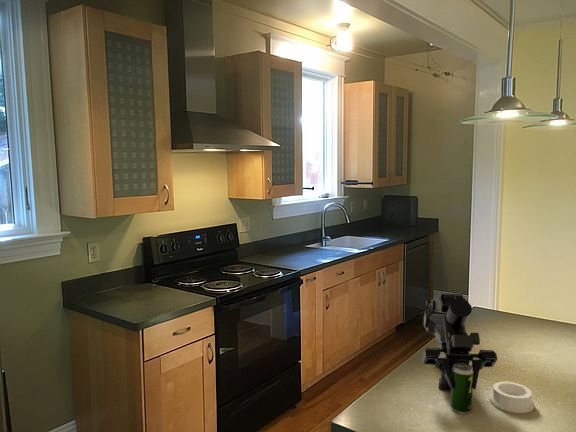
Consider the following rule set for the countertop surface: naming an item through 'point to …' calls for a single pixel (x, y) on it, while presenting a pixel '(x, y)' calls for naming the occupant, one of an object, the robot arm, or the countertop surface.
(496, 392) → the can holder
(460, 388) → the beer can
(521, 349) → the countertop surface
